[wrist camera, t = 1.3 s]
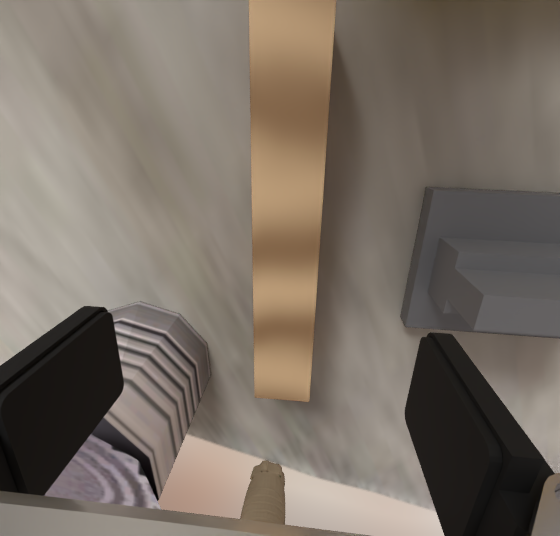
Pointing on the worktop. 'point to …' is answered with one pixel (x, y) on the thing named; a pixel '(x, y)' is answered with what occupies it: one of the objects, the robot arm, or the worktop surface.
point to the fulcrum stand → (486, 263)
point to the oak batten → (287, 184)
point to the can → (141, 411)
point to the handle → (265, 495)
